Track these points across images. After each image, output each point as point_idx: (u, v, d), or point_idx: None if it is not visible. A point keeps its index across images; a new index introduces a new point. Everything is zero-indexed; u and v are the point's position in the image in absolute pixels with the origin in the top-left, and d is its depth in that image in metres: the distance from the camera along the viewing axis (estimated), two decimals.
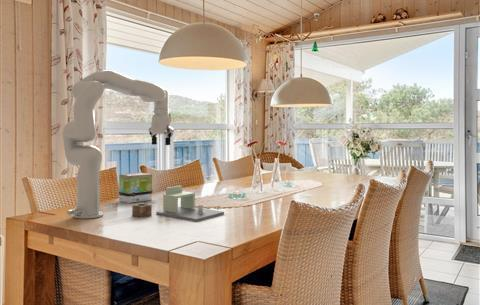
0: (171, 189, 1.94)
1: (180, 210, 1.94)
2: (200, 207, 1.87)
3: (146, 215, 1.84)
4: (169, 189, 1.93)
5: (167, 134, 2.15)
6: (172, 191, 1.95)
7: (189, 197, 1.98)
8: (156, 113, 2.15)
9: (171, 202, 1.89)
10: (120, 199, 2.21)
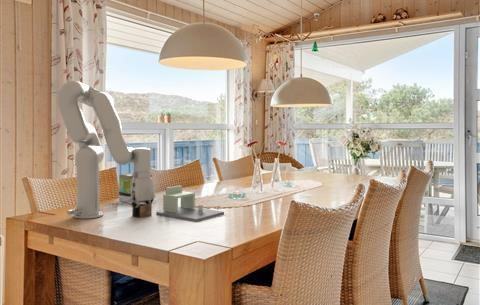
0: (171, 189, 1.94)
1: (180, 210, 1.94)
2: (200, 207, 1.87)
3: (146, 215, 1.84)
4: (169, 189, 1.93)
5: (150, 201, 1.89)
6: (172, 191, 1.95)
7: (189, 197, 1.98)
8: (148, 177, 1.83)
9: (171, 202, 1.89)
10: (120, 199, 2.21)
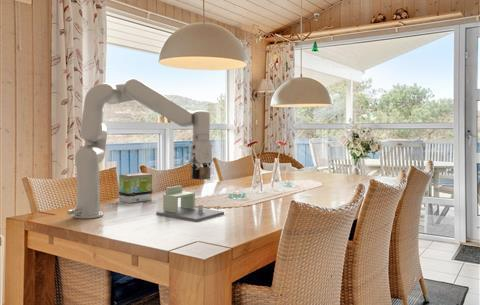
0: (171, 189, 1.94)
1: (180, 210, 1.94)
2: (200, 207, 1.87)
3: (205, 177, 1.85)
4: (169, 189, 1.93)
5: None
6: (172, 191, 1.95)
7: (189, 197, 1.98)
8: (207, 139, 1.84)
9: (171, 202, 1.89)
10: (120, 199, 2.21)
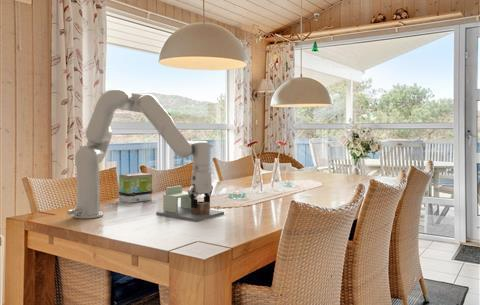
0: (171, 189, 1.94)
1: (180, 210, 1.94)
2: None
3: (205, 213, 1.86)
4: (169, 189, 1.93)
5: (209, 193, 1.91)
6: (172, 191, 1.95)
7: (189, 197, 1.98)
8: (207, 170, 1.85)
9: (171, 202, 1.89)
10: (120, 199, 2.21)
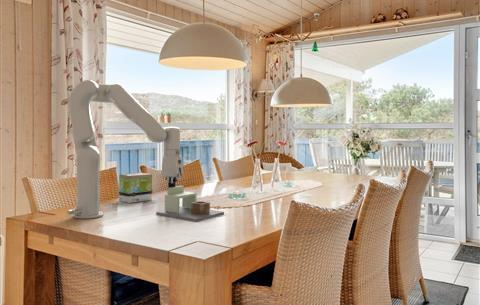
0: (173, 189, 1.94)
1: (180, 210, 1.94)
2: None
3: (205, 213, 1.86)
4: (171, 189, 1.92)
5: None
6: (174, 191, 1.94)
7: (191, 197, 1.98)
8: None
9: (172, 203, 1.88)
10: (120, 199, 2.21)
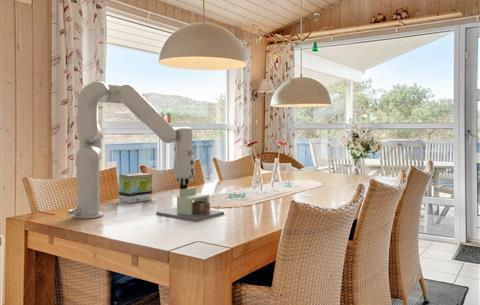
0: (185, 191, 1.89)
1: None
2: None
3: (205, 213, 1.86)
4: (183, 191, 1.88)
5: None
6: (186, 193, 1.90)
7: (203, 199, 1.93)
8: None
9: (185, 204, 1.84)
10: (120, 199, 2.21)
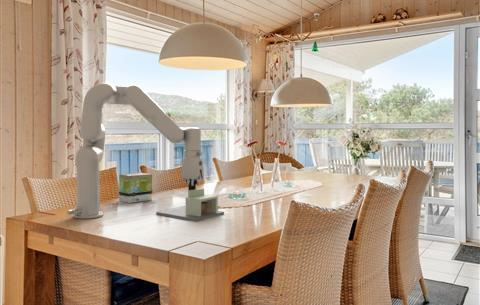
0: (193, 192, 1.86)
1: (180, 210, 1.94)
2: None
3: (205, 213, 1.86)
4: (192, 192, 1.85)
5: None
6: (194, 194, 1.87)
7: (212, 200, 1.91)
8: None
9: (194, 206, 1.81)
10: (120, 199, 2.21)
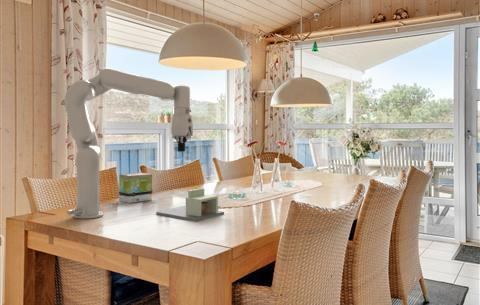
0: (194, 192, 1.86)
1: (180, 210, 1.94)
2: None
3: (205, 213, 1.86)
4: (192, 192, 1.85)
5: None
6: (194, 194, 1.87)
7: (212, 200, 1.91)
8: None
9: (194, 206, 1.81)
10: (120, 199, 2.21)
